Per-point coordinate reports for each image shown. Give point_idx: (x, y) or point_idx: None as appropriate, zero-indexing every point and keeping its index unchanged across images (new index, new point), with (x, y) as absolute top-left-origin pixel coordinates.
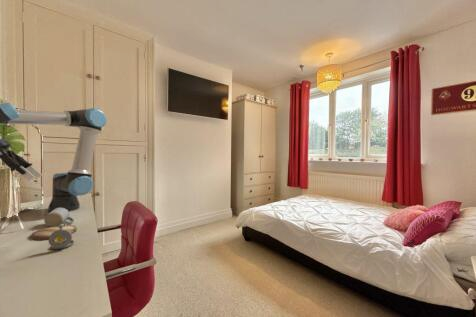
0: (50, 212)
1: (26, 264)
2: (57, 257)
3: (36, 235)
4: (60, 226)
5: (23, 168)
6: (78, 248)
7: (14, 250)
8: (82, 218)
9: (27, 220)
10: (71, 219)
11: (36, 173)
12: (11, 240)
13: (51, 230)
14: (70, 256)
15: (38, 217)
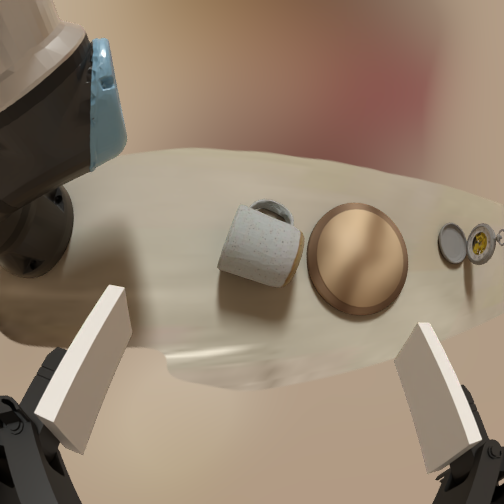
0: (279, 264)
1: (488, 294)
2: None
3: (383, 299)
4: (500, 238)
5: (471, 419)
6: (468, 220)
7: None
8: (222, 175)
9: None
10: (256, 206)
11: (108, 339)
12: (359, 355)
13: (357, 266)
14: None
15: None
